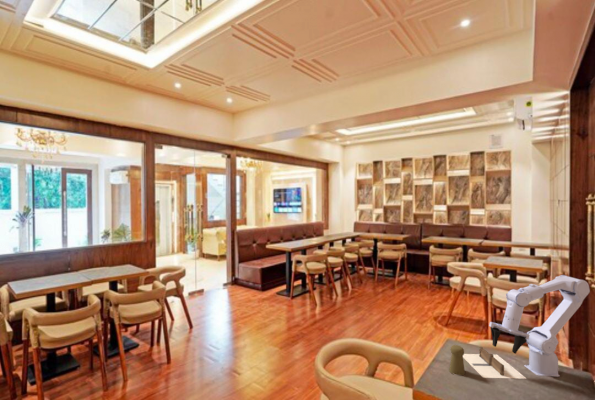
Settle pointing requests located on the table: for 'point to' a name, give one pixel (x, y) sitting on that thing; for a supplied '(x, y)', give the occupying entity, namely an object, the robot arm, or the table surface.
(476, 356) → the card
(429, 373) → the table surface
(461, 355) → the cork
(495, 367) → the fence gate
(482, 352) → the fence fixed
